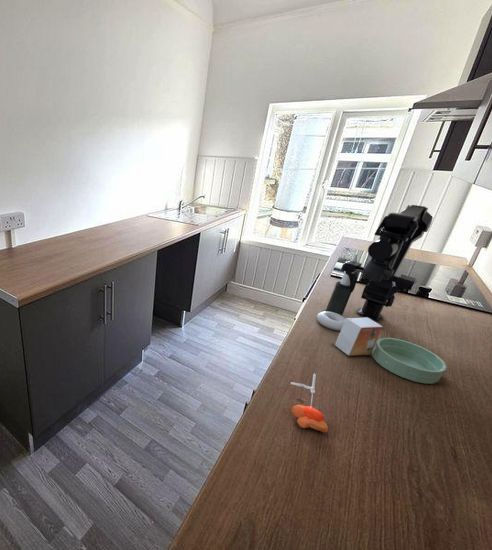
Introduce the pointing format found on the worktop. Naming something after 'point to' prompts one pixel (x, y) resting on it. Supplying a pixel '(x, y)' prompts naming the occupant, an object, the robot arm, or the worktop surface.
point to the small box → (358, 336)
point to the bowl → (408, 360)
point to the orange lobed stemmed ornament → (309, 412)
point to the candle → (340, 294)
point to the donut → (331, 320)
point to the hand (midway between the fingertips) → (367, 297)
